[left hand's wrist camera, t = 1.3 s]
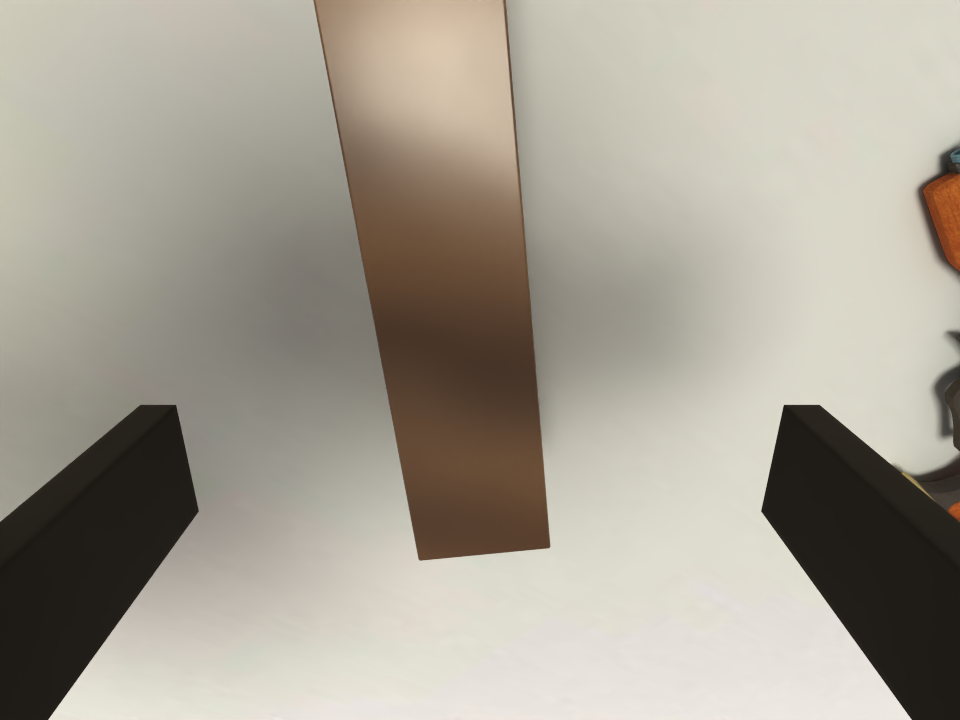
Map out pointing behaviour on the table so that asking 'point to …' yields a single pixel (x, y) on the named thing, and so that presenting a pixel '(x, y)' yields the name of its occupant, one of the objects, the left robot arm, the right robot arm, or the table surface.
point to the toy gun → (956, 217)
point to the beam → (444, 260)
